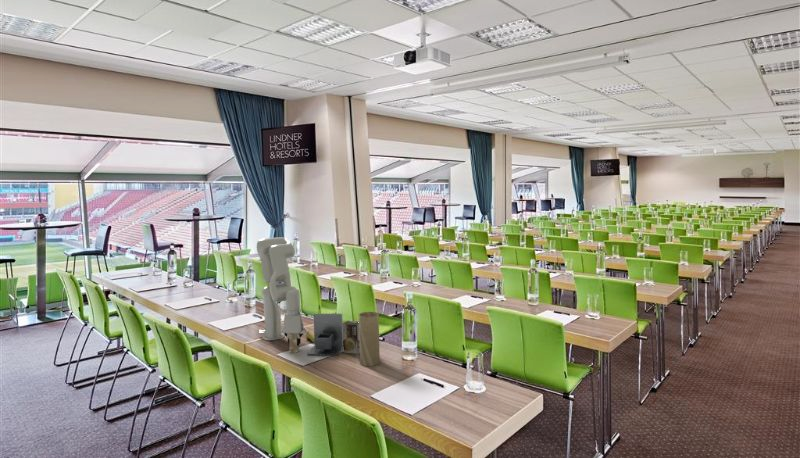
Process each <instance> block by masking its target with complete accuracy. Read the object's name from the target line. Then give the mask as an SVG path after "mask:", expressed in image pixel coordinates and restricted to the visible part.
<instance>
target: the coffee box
mask: <svg viewBox="0 0 800 458" xmlns="http://www.w3.org/2000/svg"><path fill="white" fill-rule="evenodd" d="M358 322H359V320H358V321H355V320H346V321H345V322H343V324H342V328H343V348H342V351H343V353H344V354H345V353H346V354H355V355H360V341H359V323H358Z"/></svg>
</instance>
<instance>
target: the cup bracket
mask: <svg viewBox="0 0 800 458" xmlns="http://www.w3.org/2000/svg"><path fill="white" fill-rule="evenodd" d="M343 321H344V320H343V313H324V312H323V313H318V312H317V313H316V312H314V313H313V333H314V342H313V343H314V346H313V347H311V349H310V350H309V352H308V353H307V354H306V355H307V356H308V357H309V356H310V357H338V355H339V353H341V351H342V350H343V328H342V324H343V323H344V322H343Z"/></svg>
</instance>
